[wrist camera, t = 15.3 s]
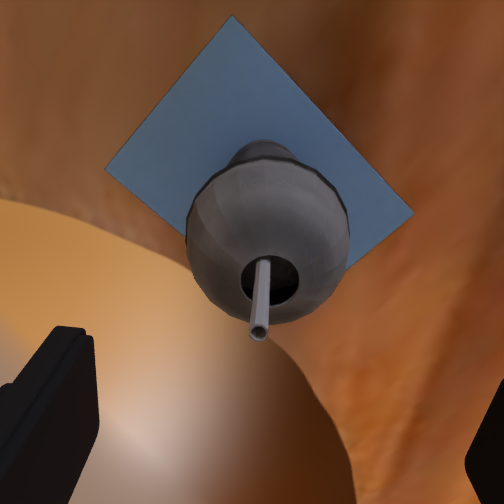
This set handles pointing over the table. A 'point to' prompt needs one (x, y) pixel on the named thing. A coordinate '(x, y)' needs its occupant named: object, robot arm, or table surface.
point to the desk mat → (247, 139)
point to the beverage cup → (267, 237)
